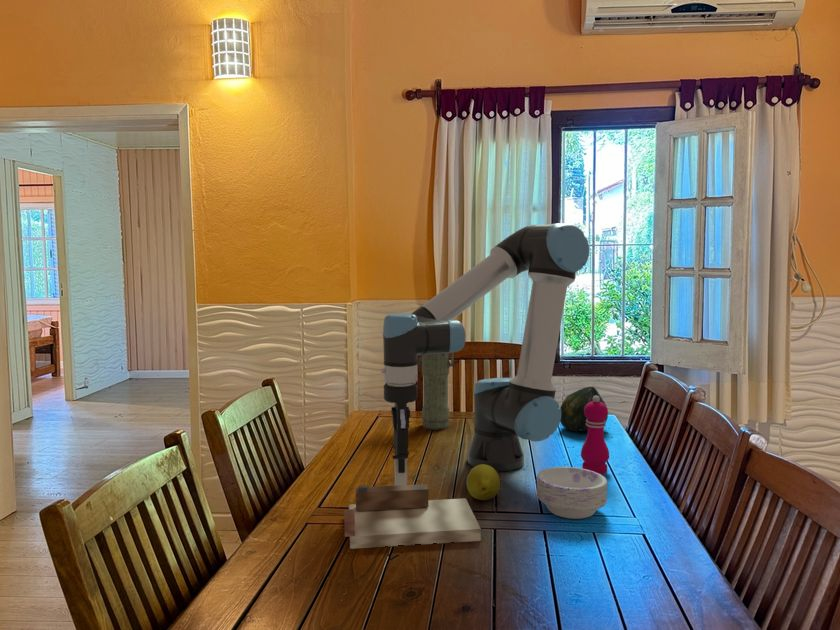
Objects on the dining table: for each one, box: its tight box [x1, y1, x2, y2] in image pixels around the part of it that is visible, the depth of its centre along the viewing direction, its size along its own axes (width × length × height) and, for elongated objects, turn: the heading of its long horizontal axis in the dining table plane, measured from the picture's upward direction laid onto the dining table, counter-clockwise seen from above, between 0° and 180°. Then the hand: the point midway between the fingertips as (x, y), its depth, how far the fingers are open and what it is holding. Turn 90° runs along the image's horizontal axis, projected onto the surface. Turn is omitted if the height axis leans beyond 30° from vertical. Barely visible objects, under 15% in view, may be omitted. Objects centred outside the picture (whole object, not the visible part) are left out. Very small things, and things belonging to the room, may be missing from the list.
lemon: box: [465, 464, 501, 501], centre depth 152 cm, size 11×8×8 cm
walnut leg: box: [355, 483, 429, 511], centre depth 142 cm, size 16×3×5 cm, turn 97°
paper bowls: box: [536, 466, 608, 520], centre depth 146 cm, size 15×15×8 cm
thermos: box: [417, 352, 455, 431], centre depth 213 cm, size 9×12×35 cm
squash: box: [559, 386, 609, 432], centre depth 208 cm, size 14×15×15 cm
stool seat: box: [343, 497, 482, 550], centre depth 138 cm, size 27×16×6 cm, turn 97°
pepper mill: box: [580, 396, 610, 476], centre depth 171 cm, size 7×7×20 cm
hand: (400, 484), depth 150 cm, fingers closed
